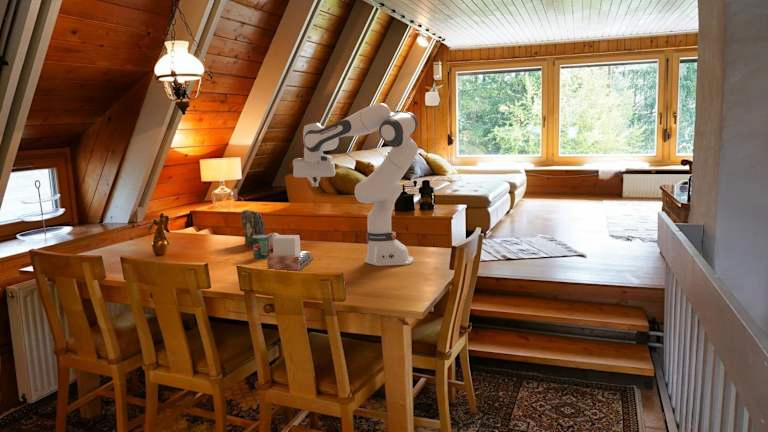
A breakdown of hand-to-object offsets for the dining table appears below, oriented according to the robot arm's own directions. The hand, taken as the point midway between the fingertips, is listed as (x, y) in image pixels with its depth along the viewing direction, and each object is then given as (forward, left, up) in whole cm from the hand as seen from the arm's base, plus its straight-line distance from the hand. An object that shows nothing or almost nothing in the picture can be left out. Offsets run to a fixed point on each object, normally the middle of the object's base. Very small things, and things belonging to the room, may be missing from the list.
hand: (315, 186), depth 281 cm
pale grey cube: (+8, +24, -30) cm, 39 cm away
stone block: (+43, -27, -35) cm, 62 cm away
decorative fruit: (+28, -17, -35) cm, 48 cm away
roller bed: (+8, +19, -35) cm, 40 cm away
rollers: (+8, +17, -33) cm, 38 cm away
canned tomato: (+28, +2, -35) cm, 45 cm away
